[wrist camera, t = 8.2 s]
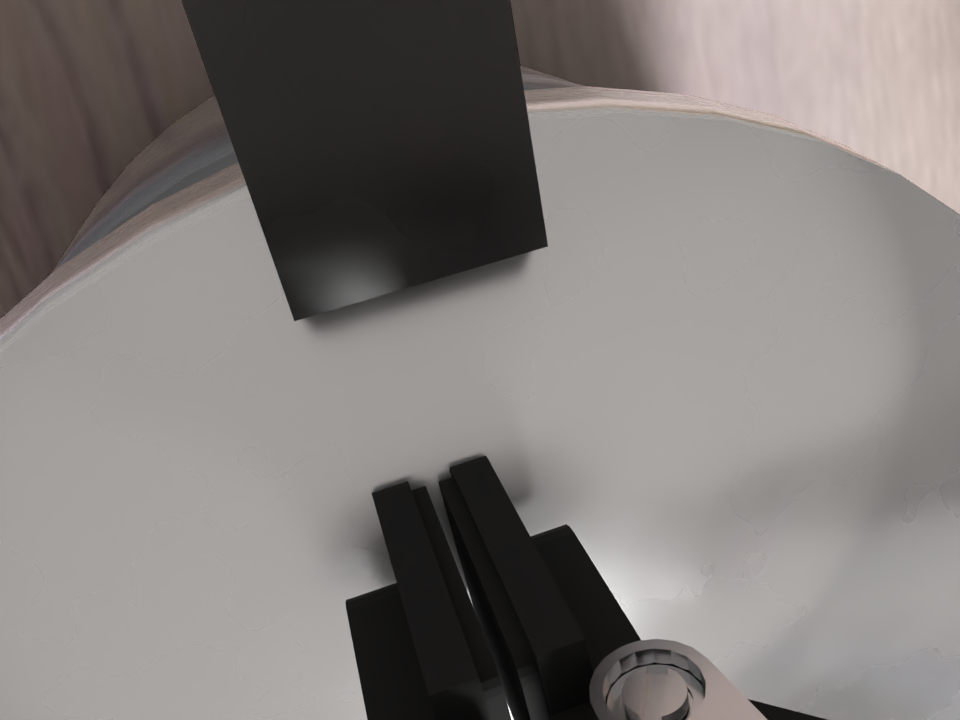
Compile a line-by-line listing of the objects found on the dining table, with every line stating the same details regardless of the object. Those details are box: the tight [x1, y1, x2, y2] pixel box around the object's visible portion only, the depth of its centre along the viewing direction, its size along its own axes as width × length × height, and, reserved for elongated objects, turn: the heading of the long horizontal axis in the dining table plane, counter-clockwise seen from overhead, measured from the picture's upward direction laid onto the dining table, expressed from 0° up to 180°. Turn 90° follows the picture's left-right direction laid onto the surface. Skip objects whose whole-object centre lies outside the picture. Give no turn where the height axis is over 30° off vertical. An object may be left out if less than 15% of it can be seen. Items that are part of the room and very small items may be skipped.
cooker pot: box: [51, 65, 583, 273], centre depth 22 cm, size 27×20×10 cm
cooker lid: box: [0, 0, 960, 720], centre depth 14 cm, size 26×21×2 cm
